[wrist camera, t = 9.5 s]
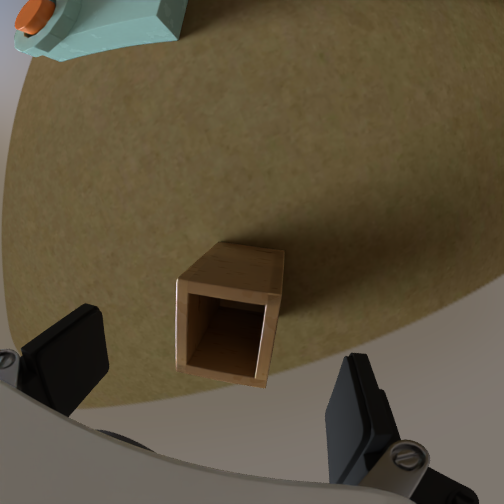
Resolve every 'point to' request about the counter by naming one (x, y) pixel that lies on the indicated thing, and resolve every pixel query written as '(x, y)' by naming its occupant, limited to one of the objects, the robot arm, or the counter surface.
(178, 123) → the counter surface
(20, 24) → the button
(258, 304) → the open wooden box
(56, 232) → the counter surface
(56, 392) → the robot arm
